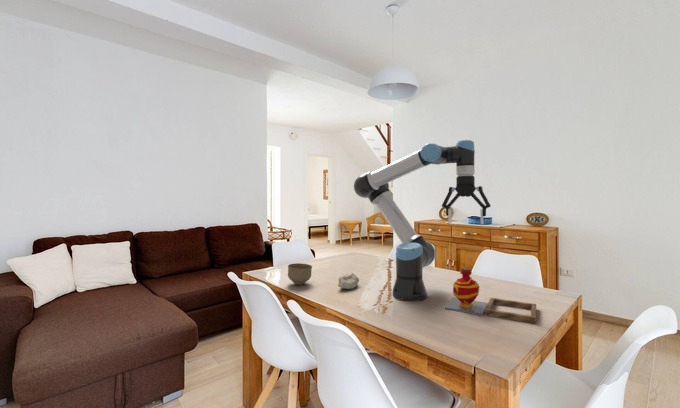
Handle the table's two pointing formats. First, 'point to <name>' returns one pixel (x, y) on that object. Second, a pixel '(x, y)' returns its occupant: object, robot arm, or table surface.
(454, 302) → the coaster
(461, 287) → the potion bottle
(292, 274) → the bowl
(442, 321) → the table surface
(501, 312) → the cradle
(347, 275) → the stone
